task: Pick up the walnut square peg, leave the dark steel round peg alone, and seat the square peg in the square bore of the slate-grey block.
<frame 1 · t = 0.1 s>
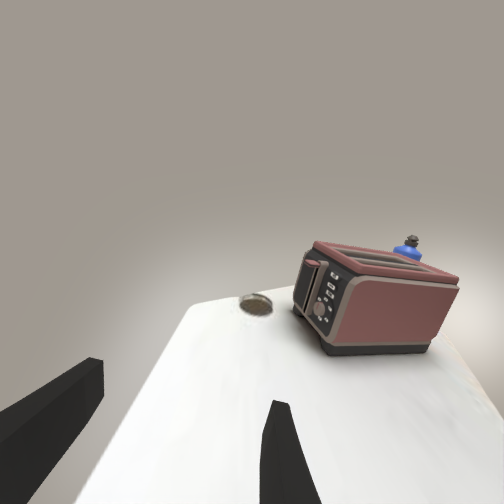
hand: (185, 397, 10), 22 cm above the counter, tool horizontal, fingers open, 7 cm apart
water bottle: (389, 295, 96), on the counter
toaster: (348, 331, 62), on the counter
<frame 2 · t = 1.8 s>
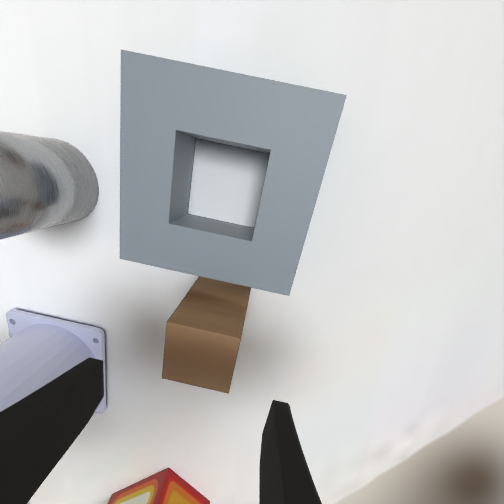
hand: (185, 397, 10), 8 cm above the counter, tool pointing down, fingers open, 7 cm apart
socket block: (227, 185, 15), on the counter
baking soda box: (160, 495, 27), on the counter
square peg: (223, 298, 17), on the counter
round peg: (60, 181, 16), on the counter
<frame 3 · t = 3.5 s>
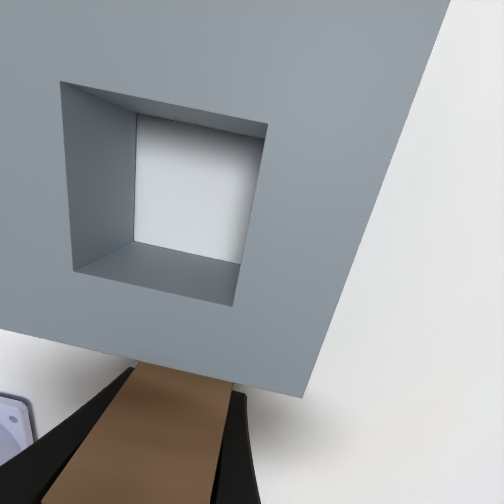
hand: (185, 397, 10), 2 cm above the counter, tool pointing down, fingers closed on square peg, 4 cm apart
socket block: (195, 195, 9), on the counter
square peg: (197, 366, 11), on the counter, touching gripper
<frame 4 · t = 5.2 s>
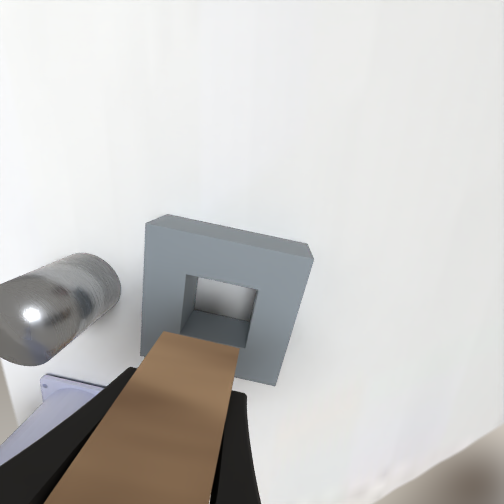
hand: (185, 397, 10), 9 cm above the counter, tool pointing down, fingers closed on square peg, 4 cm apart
socket block: (226, 290, 18), on the counter
square peg: (197, 369, 11), point 7 cm above the counter, touching gripper
round peg: (90, 283, 19), on the counter
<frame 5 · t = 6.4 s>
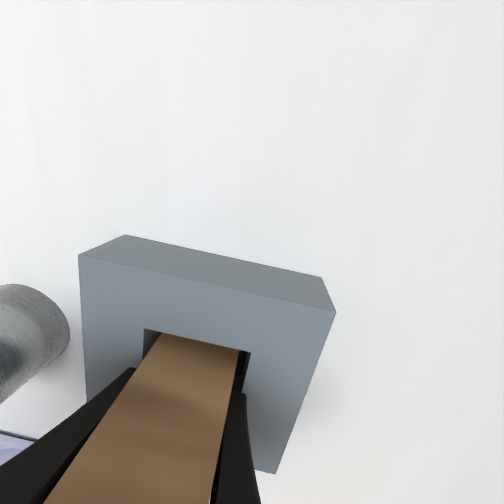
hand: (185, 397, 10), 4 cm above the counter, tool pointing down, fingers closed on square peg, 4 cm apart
socket block: (209, 336, 13), on the counter
square peg: (197, 368, 11), point 2 cm above the counter, touching gripper
round peg: (29, 322, 14), on the counter
when the fingers open (4 cm above the counter, at t = 7.3 s): square peg drops 2 cm, resting in socket block.
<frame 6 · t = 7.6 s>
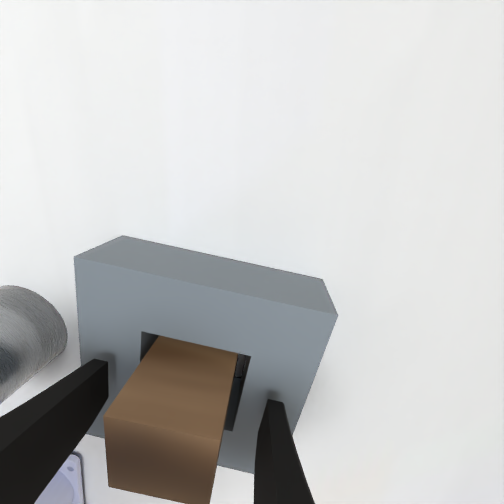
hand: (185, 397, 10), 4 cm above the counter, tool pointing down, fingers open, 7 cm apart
socket block: (208, 338, 13), on the counter
square peg: (208, 340, 13), resting in socket block
round peg: (25, 324, 14), on the counter
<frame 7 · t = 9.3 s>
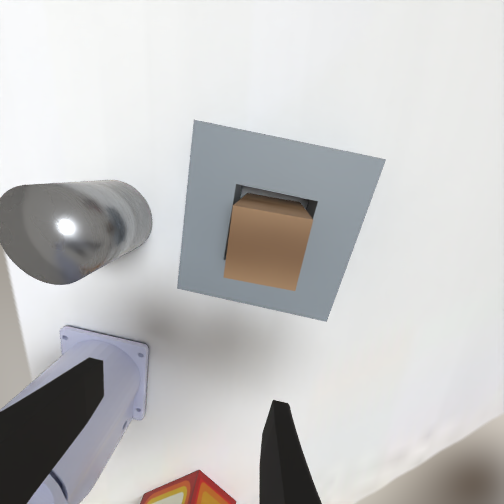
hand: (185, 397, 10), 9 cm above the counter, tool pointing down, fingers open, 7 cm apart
socket block: (269, 221, 17), on the counter
baking soda box: (189, 495, 29), on the counter
square peg: (268, 223, 17), resting in socket block
round peg: (118, 216, 18), on the counter
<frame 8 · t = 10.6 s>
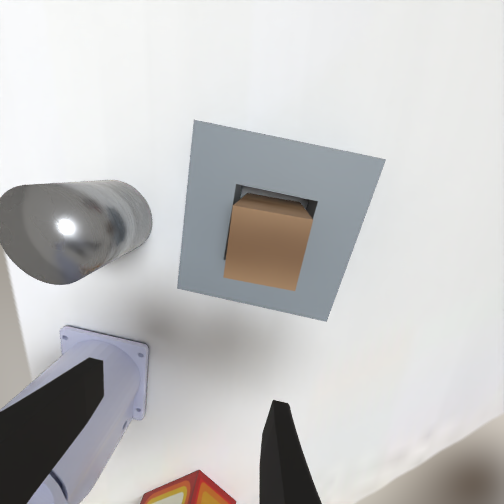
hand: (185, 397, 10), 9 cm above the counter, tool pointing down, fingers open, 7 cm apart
socket block: (269, 221, 17), on the counter
baking soda box: (189, 495, 29), on the counter
square peg: (268, 223, 17), resting in socket block
round peg: (118, 216, 18), on the counter
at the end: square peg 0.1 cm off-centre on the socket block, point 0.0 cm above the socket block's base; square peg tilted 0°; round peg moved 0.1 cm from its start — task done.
